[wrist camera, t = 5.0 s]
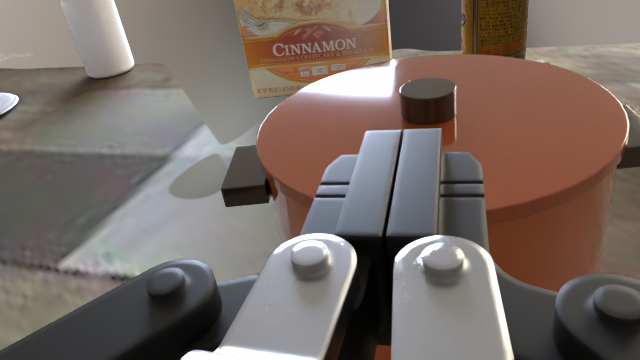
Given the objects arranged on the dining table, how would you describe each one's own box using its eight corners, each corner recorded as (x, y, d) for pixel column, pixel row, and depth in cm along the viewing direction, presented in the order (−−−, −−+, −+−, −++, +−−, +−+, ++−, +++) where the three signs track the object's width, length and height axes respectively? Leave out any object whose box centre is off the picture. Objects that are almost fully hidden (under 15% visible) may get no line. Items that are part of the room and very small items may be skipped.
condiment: (460, 63, 57) (460, -56, 51) (544, 60, 55) (555, -65, 49) (455, 89, 51) (454, -41, 45) (549, 87, 49) (562, -52, 43)
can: (144, 66, 73) (114, -24, 67) (101, 82, 70) (66, -12, 64) (121, 60, 78) (92, -25, 72) (80, 75, 74) (45, -13, 68)
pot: (243, 432, 23) (164, 210, 17) (279, 223, 36) (242, 57, 30) (703, 408, 21) (798, 147, 15) (564, 197, 34) (585, 13, 28)
